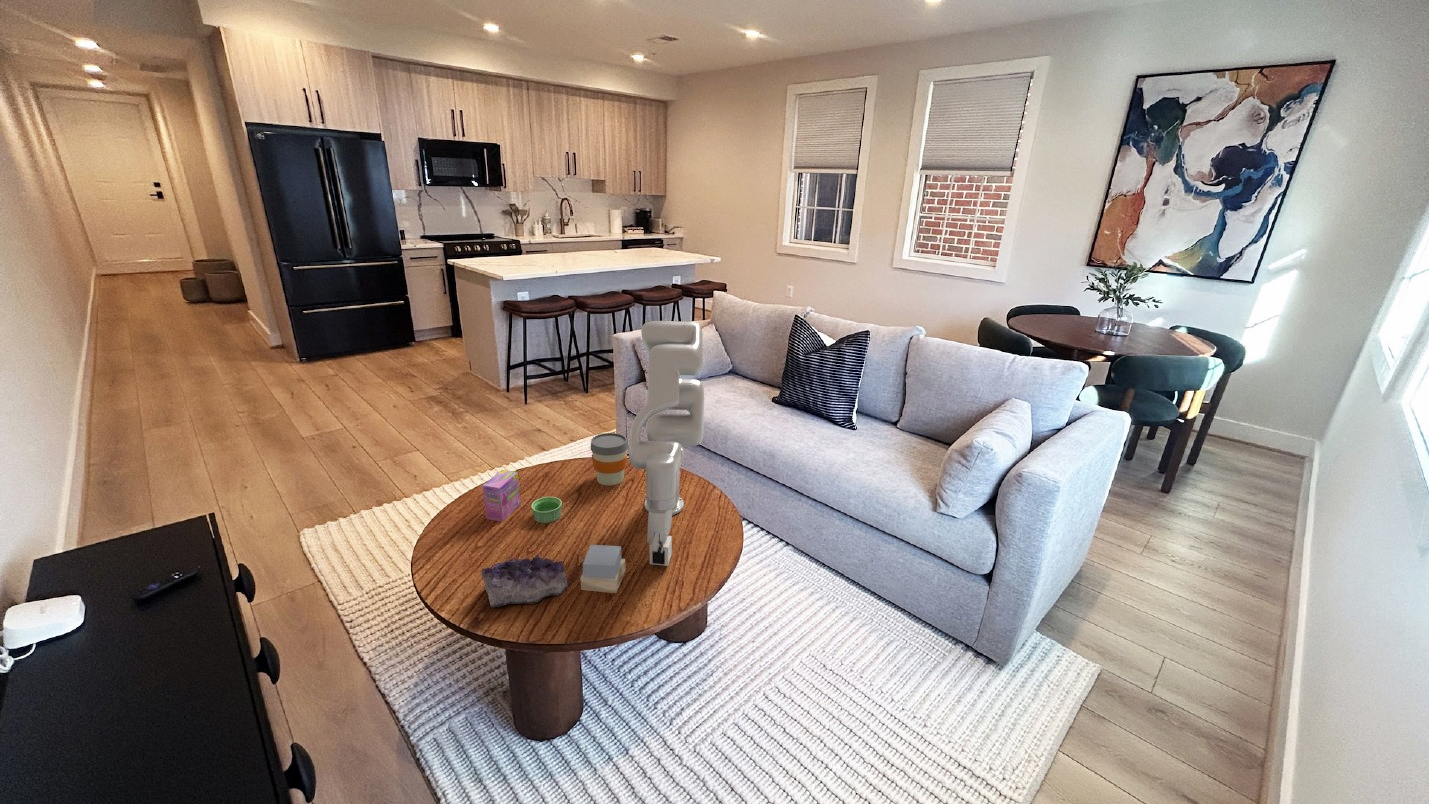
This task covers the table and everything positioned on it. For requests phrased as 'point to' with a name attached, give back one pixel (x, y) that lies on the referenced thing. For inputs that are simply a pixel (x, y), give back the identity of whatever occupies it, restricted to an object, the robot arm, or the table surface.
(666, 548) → the white block
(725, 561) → the table surface
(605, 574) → the tower top
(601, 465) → the reusable coffee cup
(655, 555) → the robot arm
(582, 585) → the tower base
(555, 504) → the ramekin
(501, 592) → the geode
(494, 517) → the box
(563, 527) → the table surface
